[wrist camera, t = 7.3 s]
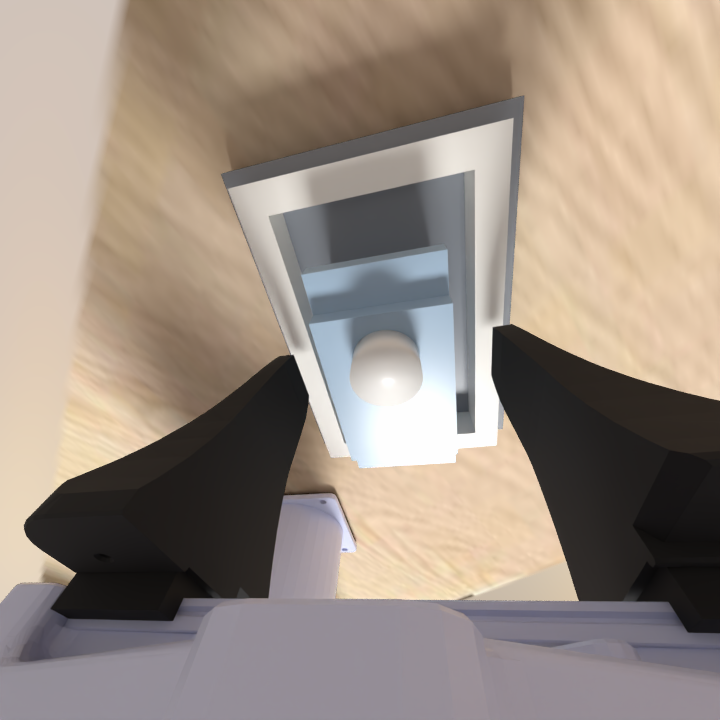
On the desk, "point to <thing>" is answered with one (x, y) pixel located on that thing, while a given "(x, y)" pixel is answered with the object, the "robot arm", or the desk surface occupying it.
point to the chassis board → (395, 237)
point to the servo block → (389, 354)
